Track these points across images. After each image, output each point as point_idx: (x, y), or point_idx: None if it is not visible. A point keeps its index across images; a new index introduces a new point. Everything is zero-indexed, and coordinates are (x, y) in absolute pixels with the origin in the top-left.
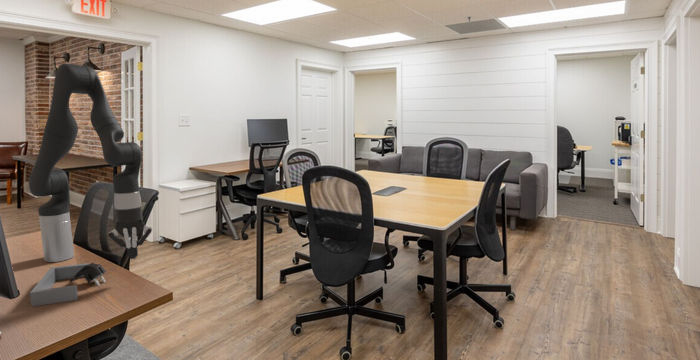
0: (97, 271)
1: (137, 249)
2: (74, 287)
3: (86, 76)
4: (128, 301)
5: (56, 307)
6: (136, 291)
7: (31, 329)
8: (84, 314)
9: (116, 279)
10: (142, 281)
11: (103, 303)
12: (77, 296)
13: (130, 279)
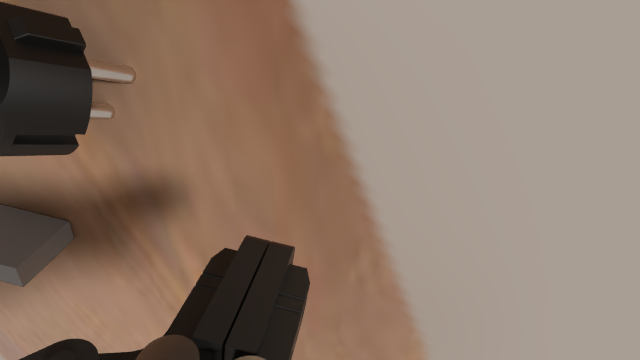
0: (37, 153)
1: (294, 339)
2: (20, 284)
3: None
4: None
5: None
6: (310, 295)
7: (35, 347)
8: None
9: (197, 67)
10: (353, 199)
11: None
12: (63, 237)
13: (287, 123)
